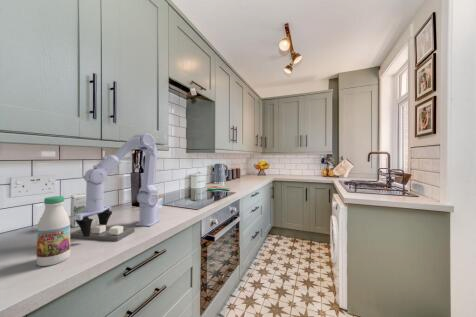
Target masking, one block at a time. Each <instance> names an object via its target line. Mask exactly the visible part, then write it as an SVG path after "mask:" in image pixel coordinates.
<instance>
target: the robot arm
mask: <svg viewBox="0 0 476 317" xmlns="http://www.w3.org/2000/svg"><path fill="white" fill-rule="evenodd" d="M135 149H139V150H141V151H142V152H143V153H144V154H145V156H144V167H143V177H142V186H141V187H140V188H139V189H138V191H139V192H138V193H137V196H136V201H137V203H139V205H138V206H139V221H138V222H137V223H135V224H134V225H135V226H141V227H151V226H153V225H155V224H156V223H158V222H160V221H161V219H160V207H159V205H158V201H159V195H158V189H157V187H156V182H155V181H156V175H157V174H156V173H157V162H158V148H157V145H156V138H155V137H154V135H152V134H151V133H149V132H146V133H140V134H133V136H132V137H129V138H128V140H126V142H124V144H123V145H122V146H121V147H119V148H118V150H116V151H115V152H114V153H113V154H108V155H103V157H102V160H101V161H99V162H98V163H96V164H94V165H92V168H91V169H88V170H87V171H86V172H85V173H84V175H83V179H84V181H85V182H86V187H85V189H86V190H85V192H86V193H85V194H86V210H85V211H84V212H82V213H79V214H77V215H76V222H77V224H78V225H79V229H81V231H82V234H83V236H84V237H88V236H90V227H91V223H92V220H93V221H94V218H90V217H92V216H95V215H97V216H98V217H97V218H98V222H99V225H106V226H107V224H108V222H109V219H110V217H111V215H112V214H113V211H112V205H104V204H105V199H104V197H105V196H104V195H105V194H104V193H105V192H104V191H105V188H104V187H105V186H104V184H105V183H104V182H105V181H106V180H107V178H108V175H109V174H111V173H112V171H114V170H115V169H116V168H117V167H118V166H119V165H120V161H121V160H122V159H123V158H124V157H125V156H126V155H128V154H129V153H130V152H131V151H133V150H135Z"/></svg>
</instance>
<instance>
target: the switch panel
mask: <svg viewBox="0 0 476 317" xmlns="http://www.w3.org/2000/svg"><path fill="white" fill-rule="evenodd" d="M111 227H112V226H107V225H106V231H104V232H102V233H100V234H98V233H92V229H90V236H88V237H84V236H83V234H82V231H81V228H79V229H78V230H74V231H72V232H70V238H75V239H86V240H87V239H88V240H97V241H99V240H100V241H108V242H119V241H120V240H122V239H124V238H127V237H128V236H129V235H131V234H133V233H135V230H136V229H135V227H123V232H122V233H121V234H119V235H112V234H110V228H111Z"/></svg>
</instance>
